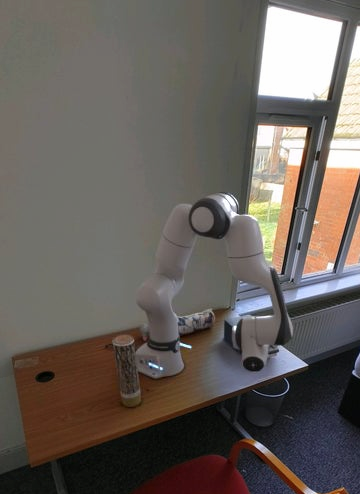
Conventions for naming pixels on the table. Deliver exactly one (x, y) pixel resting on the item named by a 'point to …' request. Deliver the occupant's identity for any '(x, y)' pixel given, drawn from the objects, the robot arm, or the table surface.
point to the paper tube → (127, 370)
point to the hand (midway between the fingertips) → (259, 325)
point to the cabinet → (228, 329)
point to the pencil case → (195, 322)
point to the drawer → (272, 350)
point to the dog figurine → (144, 329)
